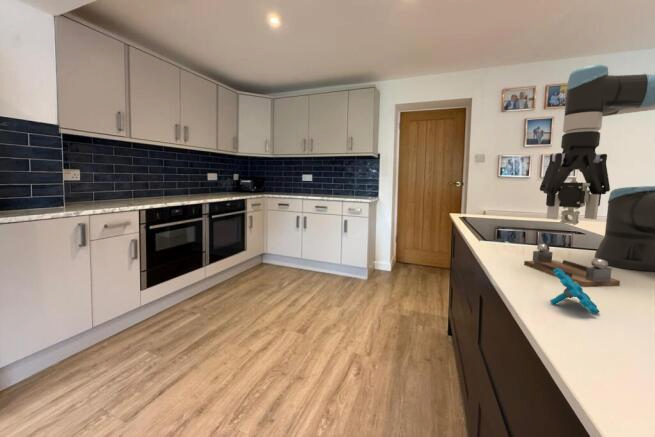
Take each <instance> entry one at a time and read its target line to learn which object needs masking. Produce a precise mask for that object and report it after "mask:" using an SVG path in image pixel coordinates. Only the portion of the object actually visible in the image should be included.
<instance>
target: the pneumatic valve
mask: <svg viewBox="0 0 655 437" xmlns="http://www.w3.org/2000/svg"><path fill="white" fill-rule="evenodd" d="M588 186H590V183H586V182H578V181H577V178H575V177H573V178H572V179H571V181H569V182H567V181H565V182H564V183H563V185H562V186H561V188H560V189H559V191H558V192H557V194H558V199H559V200H560V203H559V208H562V209H564V210H561V212H560V213H561V220H560V221H559V222H560V224H562V225H563V224H566V225H567V224H568V225H573V226H575V225H578V224H579V223H580V222H579V215H580V213H581V212H580V211H579V209H580V208H582V207H586V202H589V194H591V193H590V190H589V189H588ZM574 210H576V211H574ZM569 216H571V219H570V218H569Z"/></svg>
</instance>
